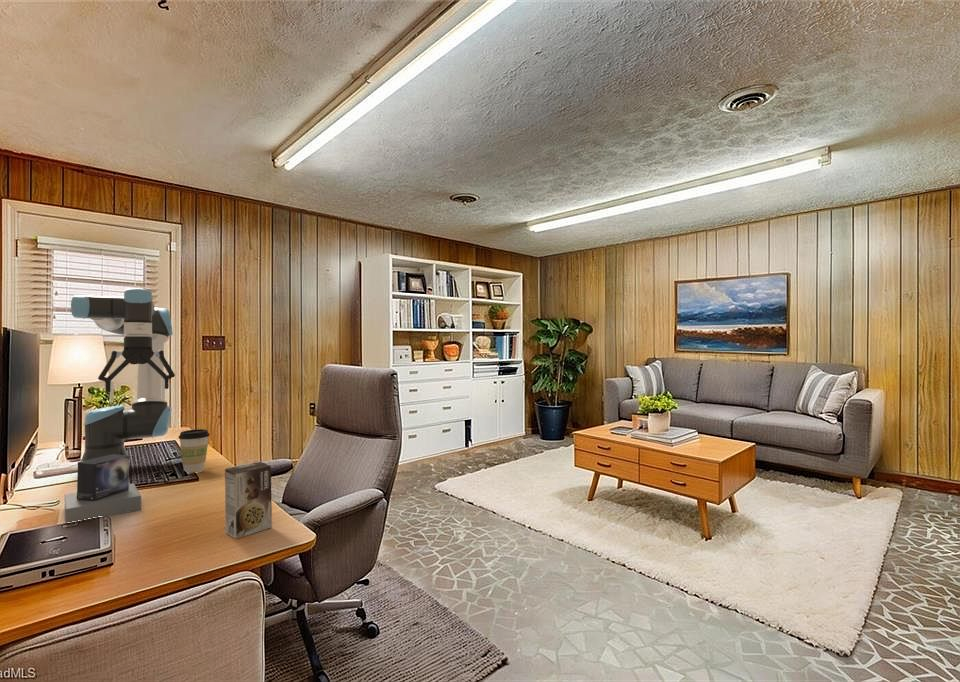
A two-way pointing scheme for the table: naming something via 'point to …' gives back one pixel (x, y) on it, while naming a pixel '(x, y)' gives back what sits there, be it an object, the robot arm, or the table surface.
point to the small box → (102, 477)
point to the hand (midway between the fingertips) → (137, 400)
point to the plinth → (102, 505)
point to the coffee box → (248, 499)
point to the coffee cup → (194, 449)
